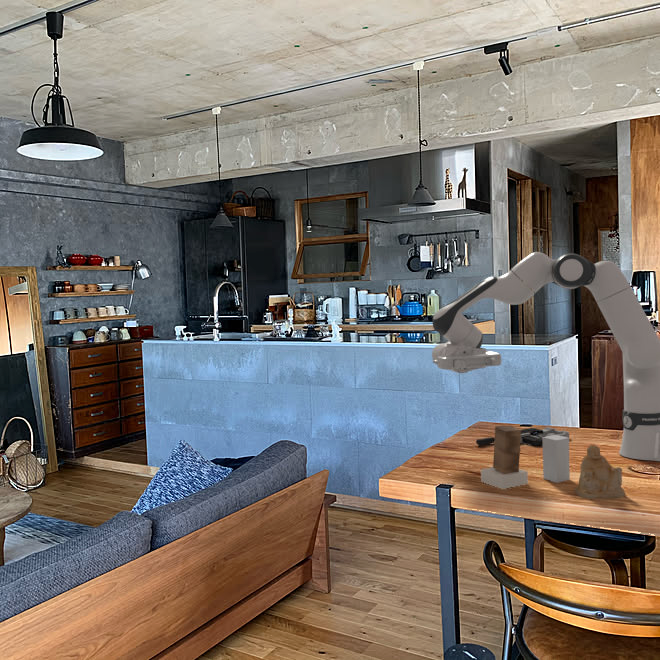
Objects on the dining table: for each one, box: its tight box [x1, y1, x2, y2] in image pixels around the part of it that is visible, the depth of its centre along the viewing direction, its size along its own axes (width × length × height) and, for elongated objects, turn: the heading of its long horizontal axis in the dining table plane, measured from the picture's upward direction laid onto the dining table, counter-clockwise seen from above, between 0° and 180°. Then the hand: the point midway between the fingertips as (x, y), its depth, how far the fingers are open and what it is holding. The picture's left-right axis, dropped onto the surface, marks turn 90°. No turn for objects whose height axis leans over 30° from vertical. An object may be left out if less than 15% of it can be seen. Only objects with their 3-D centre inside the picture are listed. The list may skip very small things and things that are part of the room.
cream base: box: [480, 466, 529, 490], centre depth 187 cm, size 9×9×4 cm
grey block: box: [542, 435, 571, 484], centre depth 189 cm, size 5×5×12 cm
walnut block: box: [492, 424, 522, 474], centre depth 186 cm, size 5×5×12 cm
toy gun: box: [475, 426, 570, 446], centre depth 233 cm, size 4×33×15 cm
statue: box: [574, 444, 626, 500], centre depth 176 cm, size 12×14×10 cm
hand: (480, 363), depth 202 cm, fingers open, 8 cm apart
